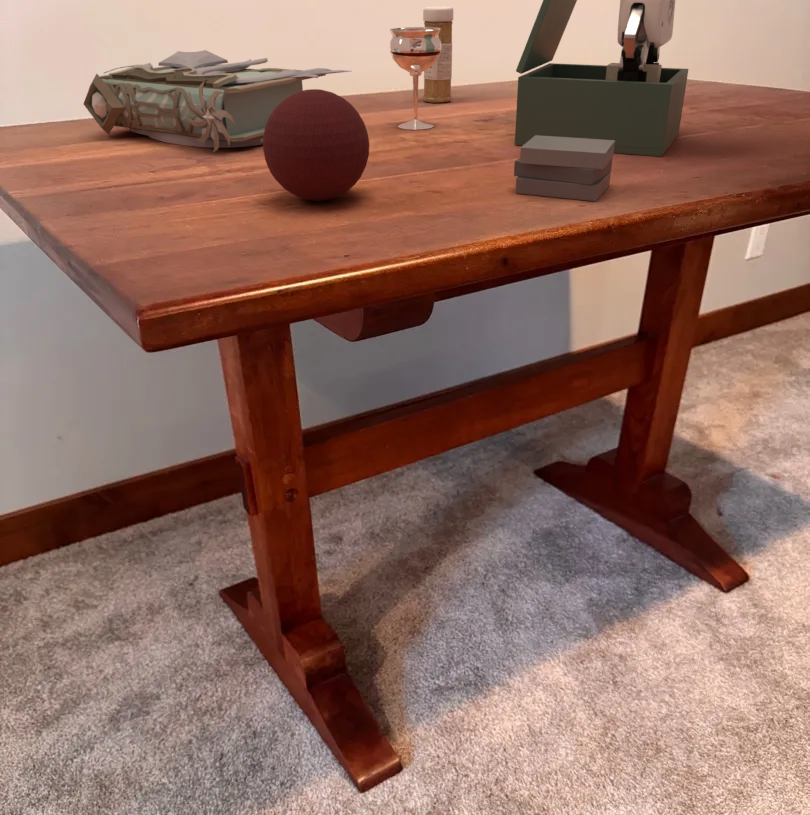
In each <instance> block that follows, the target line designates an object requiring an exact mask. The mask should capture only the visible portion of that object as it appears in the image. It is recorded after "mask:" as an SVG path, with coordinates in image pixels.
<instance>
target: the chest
mask: <svg viewBox="0 0 810 815" xmlns="http://www.w3.org/2000/svg"><path fill="white" fill-rule="evenodd" d="M606 70H607V65H603V64H602V65H600V64H578V63H577V64H575V63H552V62H551V63H550V62H548V63H546V64H544V65H542V66H539V67H537V68H535V69H532V70H530V71H528V72H526V73H523V74H521V75H520V76H518V77H517V94H516V111H515V130H514V146H520V147H522V146H523V145H524V144H526V143H527V142H528V141H529V140H530V139H532V138H533V137H534V136H535V135H539V136H555V137H571V138H587V139H603V140H615V146H614V154H620V155H621V154H623V155H633V156H636V155H637V156H647V157H648V156H649V157H663V155H664V154H665V153H666V152H667V150H668V149H669V148H670V146H671V145H672V144H673V142H674V141H675V140H676V139H677V138H678V135H679V134H680V127H681V122H682V116H683V114H682V113H683V110H684V109H683V107H684V100H685V94H686V88H687V83H688V76H689V68H678V67H677V68H676V67H662V68H661V75H660V82H659V83H656V82H635V81H614V80H606Z"/></svg>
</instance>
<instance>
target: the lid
mask: <svg viewBox="0 0 810 815" xmlns="http://www.w3.org/2000/svg"><path fill="white" fill-rule="evenodd" d="M577 2H578V0H542V2H541V5H540V7H539V9H538V13H537V15H536V18H535V20H534V23H533V25H532V27H531V31H530V33H529V35H528V38H527V41H526V43H525V45H524V46H525V47H524V49H523V51H522V54H521V56H520V59H519V62H518V64H517V66H516V69H515V72H516V73H519V74H520V75H523V74H526V73H528V72H530V71H532V70H535V69H537V68H539V67H542V66H544V65H546V64H549V63H550V62H552V61H553V59H554V58H555V55H556V53H557V50H558V48H559V45H560V43H561V41H562V38H563V35H564V34H565V31H566V28H567V26H568V23H569V21H570V18H571V16H572V14H573V11H574V9H575V7H576V4H577Z"/></svg>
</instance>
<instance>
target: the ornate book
mask: <svg viewBox="0 0 810 815" xmlns="http://www.w3.org/2000/svg"><path fill="white" fill-rule="evenodd" d="M268 62H269V61H268V57H264V58H259V59H253V60H251V58H250V59H247V60H246V61H240V62H232V63H229V61H228V59H226V58H224V57H222V56H219V55H218V54H215V53H213V52H210V51H208V50H207V49H204V50H199V51H180V50H178V51H176V52H175V53H173V54H171V55H169V56H168V57H166V58H164V59H163V60H161V61H159V62H158V67H154V66H153V64H152V63H151V62H148V63H144V64H132V65H126V66H121V67H115V68H112V69H110V70H107V71H105V72H103V75H99V73H96V74H95V75H94V77H93V79H92V81H91V83H90V85H89V87H88V91H87V93H86V96H85V98H84V101H83V106H84V107H85V108H86V110H87V111H88V113H89V114H90V115H91V116H92V118H93V119H94V120H95V122H96V123H97V124H98V125H99V127H100V128H101V129H102V130H103V131H104V132H105V133H106V134H107V135H109V134H111V132H112V130H113V128H114V127H116V128H117V127H119V128H125V129H129V131H131V132H132V133H136V134H139V135H140V134H141V135H144V136H147V137H149V138H151V139H153V140H156V141H160V142H163V143H166V144H167V143H168V144H173V145H179V146H186V147H198V148H199V147H200V148H213V151H212V154H214V153H216V152H217V151H218V149H219V148H224V149H225V148H227V149H228V148H229V149H230V148H243V147H253V146H261V145H262V146H263V135H264V130H265V126H266V123H267V121H268V118H269V116H270V115H271V113H272V112H273V110H274V109H275V107H276V106H278V105H279V104H280V103H281V102H282V101H283V100H284V99H285V98H287V97H289V96H290V95H292V94H294V93H297V92H300V91H303V90H304V88H303V81H305V80H311V79H318V78H320V77H323V76H324V77H325V76H327V75H329V74H340V73H351V70H342V69H335V70H334V69H330V68H325V67H321V68H320V67H317V68H311V69H310V68H309V69H304V70H303V69H290V68H280V67H279V68H278V67H263V68H249V67H251V66H257V65H262V64H266V63H268ZM124 68H125V69H124ZM119 69H120V70H119ZM116 70H117V71H116ZM113 71H114V72H113ZM107 73H108V74H107Z"/></svg>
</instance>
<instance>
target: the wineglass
mask: <svg viewBox="0 0 810 815" xmlns="http://www.w3.org/2000/svg"><path fill="white" fill-rule="evenodd" d="M440 30H441V29H440V28H432V27H425V26H413V27H412V26H405V27H395V28H390V29H389V32H390V34H391V40H390V42H389V52H390V55H391V56H390V57H391V58H392V60H393V61H394V62H395V64H396V65H397V66H398V67H399V68H400V69H403V70H404V71H406V72H408V73H409V76H410V77H412V91H413V93H412V94H413V115H414V119H412V120H409V121H406V122H403V123H401V124H398V125H397V127H398V128H399V129H403V130H414V131H415V130H429V129H431V128H433V127H435V125H434V124H432V123H430V122H427V121H423V120H420V119H418V111H419V110H418V106H419V81H420V80H419V77H421V76H422V74H423V73H424V71H425V70H426V69H428V68H430V67H431V66H432V65H433V64H434V63H435V61H436V60H437V59H438V58H439V55H440V53H441V41H440V39H439V37H438V34H439V32H440Z"/></svg>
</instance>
